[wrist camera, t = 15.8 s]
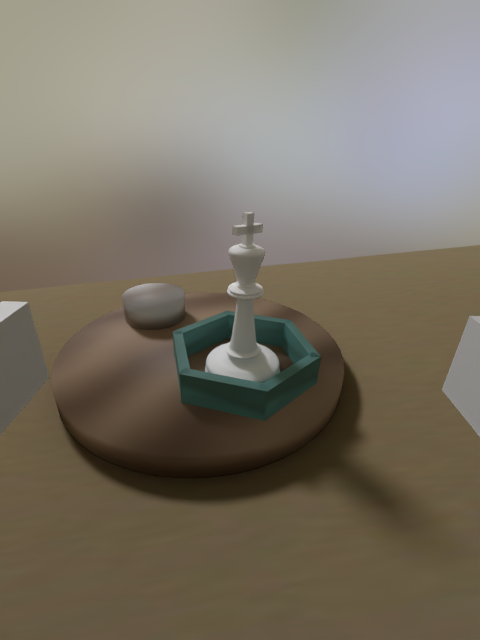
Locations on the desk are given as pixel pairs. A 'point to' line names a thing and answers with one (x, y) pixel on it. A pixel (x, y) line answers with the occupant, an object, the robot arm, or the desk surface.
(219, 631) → the desk surface
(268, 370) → the chess piece
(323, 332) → the carrier
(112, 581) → the desk surface
